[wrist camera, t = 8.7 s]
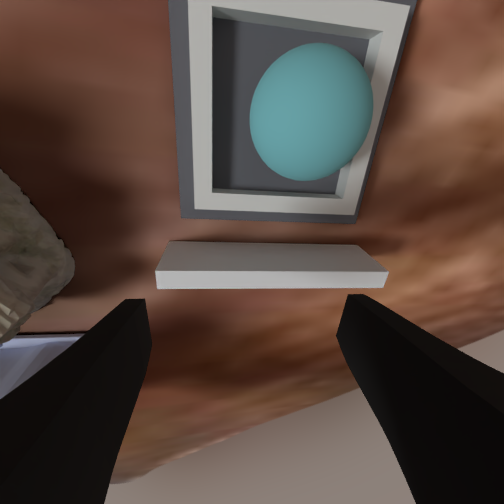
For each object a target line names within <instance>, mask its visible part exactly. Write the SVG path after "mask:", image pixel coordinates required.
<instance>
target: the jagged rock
mask: <svg viewBox="0 0 504 504" xmlns="http://www.w3.org/2000/svg"><path fill="white" fill-rule="evenodd" d="M71 256H72V254H71V252H70V250H69V249H68V248H65V247H64V243H63V241H62V239H60V240H59V239H58V238H57V237H56V233H55V232H54V231H53V228H52V227H51V226H50V225H49V224H48V222H47V221H46V220H45V219H44V218H43V217H42V216H41V215H40V214H39V212H38V211H37V210H36V209H35V207H34V206H33V205H31V204H30V199H29V198H28V197H27V196H26V195H23V192H21V188H20V187H19V186H18V185H17V184H16V183H15V182H13V181H11V180H10V178H9V176H8V175H7V174H5V173H3V171H2V169H0V344H3V343H6V342H8V341H10V340H12V339H13V338H14V337H15V336H16V334H17V333H18V332H19V331H20V326H21V325H22V324H24V323H25V322H26V321H27V320H28V319H29V318H30V317H31V315H30V314H31V313H33V312H35V311H37V310H39V309H40V308H41V307H42V306H46V303H48V302H49V301H50V300H51V297H52V296H53V295H56V294H58V293H59V292H60V290H61V289H64V288H63V287H64V286H66V285H67V284H68V283H69V282H70V281H71V279H72V277H73V276H74V274H75V273H74V271H75V264H74V263H75V260H74V258H72V257H71Z"/></svg>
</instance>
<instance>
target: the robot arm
mask: <svg viewBox="0 0 504 504" xmlns="http://www.w3.org/2000/svg"><path fill="white" fill-rule="evenodd" d="M336 337H337V339H338V342H339V345H340V347H341V350H342V353H343V355H344V357H345V360H346V362H347V364H348V366H349V368H350V370H351V372H352V374H353V375H354V377H355V379H356V381H357V383H358V385H359V386H360V388H361V390H362V392H363V394H364V396H365V397H366V399H367V401H368V403H369V405H370V406H371V408H372V410H373V412H374V414H375V416H376V417H377V419H378V421H379V423H380V425H381V427H382V428H383V431H384V433H385V435H386V436H387V439H388V440H389V443H390V445H391V447H392V449H393V451H394V454H395V456H396V458H397V460H398V462H399V465H400V467H401V469H402V472H403V474H404V476H405V478H406V481H407V483H408V486H409V488H410V490H411V493H412V495H413V498H414V500H415V502H416V504H504V373H501V372H500V371H497V370H495V369H494V368H492V367H489V366H487V365H486V364H484V363H482V362H480V361H478V360H476V359H474V358H472V357H470V356H469V355H467V354H465V353H463V352H461V351H459V350H458V349H456V348H454V347H452V346H451V345H449V344H447V343H445V342H444V341H442V340H440V339H438V338H437V337H435V336H433V335H432V334H430V333H428V332H426V331H425V330H423V329H421V328H420V327H418V326H416V325H415V324H413V323H412V322H410V321H408V320H407V319H405V318H403V317H402V316H400V315H398V314H397V313H395V312H394V311H392V310H390V309H389V308H387V307H385V306H384V305H382V304H380V303H379V302H377V301H375V300H373V299H372V298H370V297H368V296H366V295H364V294H348V296H347V300H346V303H345V307H344V310H343V314H342V317H341V321H340V324H339V327H338V331H337V334H336ZM151 347H152V340H151V334H150V327H149V321H148V315H147V309H146V302H145V299H125V300H124V301H123V302H121V303H120V304H119V305H118V306H117V307H116V308H114V309H113V310H112V311H111V312H110V313H109V314H107V315H106V316H105V317H104V318H103V319H102V320H101V321H99V322H98V323H97V324H96V325H95V326H94V327H92V328H91V329H90V330H89V331H88V332H86V333H85V334H56V335H19V336H15V337H14V338H13V339H12V340H10V341H8V342H6V343H3V344H0V504H104V502H105V498H106V494H107V490H108V487H109V483H110V479H111V475H112V472H113V468H114V465H115V462H116V459H117V456H118V452H119V450H120V447H121V444H122V441H123V438H124V435H125V432H126V429H127V427H128V424H129V421H130V418H131V415H132V412H133V409H134V406H135V404H136V401H137V398H138V395H139V392H140V389H141V386H142V383H143V380H144V377H145V374H146V370H147V366H148V361H149V357H150V352H151Z"/></svg>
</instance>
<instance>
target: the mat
mask: <svg viewBox="0 0 504 504" xmlns="http://www.w3.org/2000/svg"><path fill="white" fill-rule="evenodd" d="M416 2H417V0H168V5H169V22H170V39H171V56H172V73H173V90H174V107H175V124H176V140H177V157H178V174H179V191H180V208H181V218H190V219H220V220H251V221H282V222H312V223H343V224H355V223H356V220H357V216H358V212H359V209H360V205H361V202H362V198H363V194H364V191H365V187H366V183H367V180H368V176H369V173H370V169H371V165H372V162H373V158H374V154H375V151H376V147H377V144H378V140H379V136H380V133H381V129H382V126H383V122H384V118H385V115H386V111H387V107H388V104H389V100H390V97H391V93H392V89H393V86H394V82H395V78H396V75H397V71H398V68H399V64H400V60H401V57H402V53H403V49H404V46H405V42H406V39H407V35H408V31H409V28H410V24H411V20H412V17H413V13H414V10H415V6H416ZM309 43H328V44H332V45H335V46H338V47H341V48H343V49H344V50H346V51H348V52H349V53H350V54H351V55H353V56H354V57H355V58H356V59H357V60H358V61H359V62H360V63H361V65H362V66H363V68H364V70H365V71H366V73H367V75H368V78H369V80H370V83H371V86H372V92H373V116H372V121H371V125H370V129H369V132H368V134H367V137H366V139H365V141H364V143H363V145H362V146H361V148H360V149H359V151H358V152H357V153H356V155H355V156H354V157H353V158H352V159H351V160H350V161H349V162H348V163H347V164H346V165H345V166H344V167H343V168H341V169H340V170H338V171H336V172H335V173H333V174H331V175H329V176H327V177H324V178H321V179H317V180H312V181H297V180H293V179H289V178H286V177H283V176H281V175H279V174H278V173H276V172H275V171H273V170H272V169H271V168H269V167H268V166H267V165H266V164H265V162H264V161H263V160H262V159H261V157H260V156H259V154H258V152H257V150H256V148H255V146H254V143H253V140H252V136H251V132H250V108H251V103H252V98H253V95H254V92H255V89H256V87H257V85H258V83H259V81H260V79H261V78H262V76H263V75H264V73H265V72H266V70H267V69H268V68H269V67H270V66H271V64H272V63H274V62H275V61H276V60H277V59H278V58H279V57H280V56H282V55H283V54H285V53H286V52H288V51H289V50H292V49H294V48H296V47H298V46H301V45H305V44H309Z"/></svg>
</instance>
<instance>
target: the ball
mask: <svg viewBox="0 0 504 504" xmlns="http://www.w3.org/2000/svg"><path fill="white" fill-rule="evenodd" d="M372 116H373V92H372V86H371V83H370V80H369V78H368V75H367V73H366V71H365V70H364V68H363V66H362V65H361V63H360V62H359V61H358V60H357V59H356V58H355V57H354V56H353V55H351V54H350V53H349V52H348V51H346V50H344V49H343V48H341V47H338V46H335V45H332V44H328V43H309V44H305V45H301V46H298V47H296V48H294V49H292V50H289V51H288V52H286V53H285V54H283V55H282V56H280V57H279V58H278V59H277V60H276V61H275V62H274V63H272V64H271V66H270V67H269V68H268V69H267V70H266V72H265V73H264V75H263V76H262V78H261V79H260V81H259V83H258V85H257V87H256V89H255V92H254V95H253V98H252V103H251V108H250V132H251V136H252V140H253V143H254V146H255V148H256V150H257V152H258V154H259V156H260V157H261V159H262V160H263V161H264V162H265V164H266V165H267V166H268V167H269V168H271V169H272V170H273V171H275V172H276V173H278V174H279V175H281V176H283V177H286V178H289V179H293V180H297V181H312V180H317V179H321V178H324V177H327V176H329V175H331V174H333V173H335V172H336V171H338V170H340V169H341V168H343V167H344V166H345V165H346V164H347V163H348V162H349V161H350V160H351V159H352V158H353V157H354V156H355V155H356V153H357V152H358V151H359V149H360V148H361V146H362V145H363V143H364V141H365V139H366V137H367V134H368V132H369V129H370V125H371V121H372Z"/></svg>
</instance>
